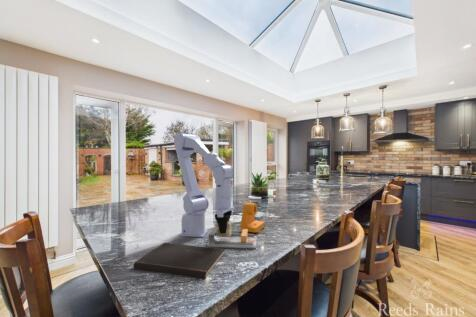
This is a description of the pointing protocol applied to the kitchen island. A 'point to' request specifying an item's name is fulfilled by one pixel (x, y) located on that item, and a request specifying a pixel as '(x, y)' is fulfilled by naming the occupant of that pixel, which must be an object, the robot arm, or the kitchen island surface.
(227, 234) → the maple block
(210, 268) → the dark brown flat slab
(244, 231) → the sliding jaw
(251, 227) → the bracket
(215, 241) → the vise base
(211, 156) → the robot arm
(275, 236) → the kitchen island surface
